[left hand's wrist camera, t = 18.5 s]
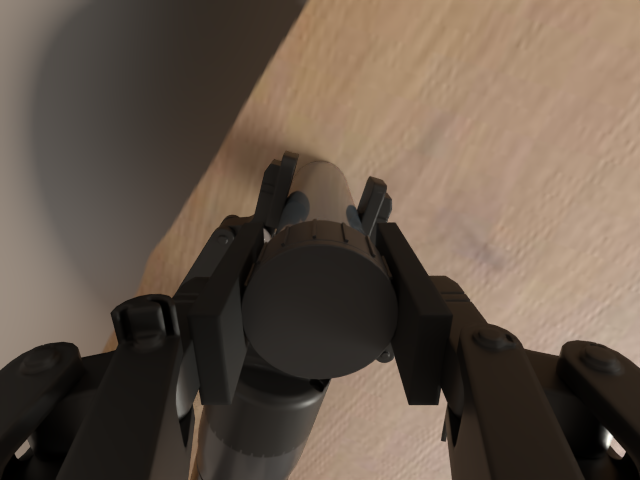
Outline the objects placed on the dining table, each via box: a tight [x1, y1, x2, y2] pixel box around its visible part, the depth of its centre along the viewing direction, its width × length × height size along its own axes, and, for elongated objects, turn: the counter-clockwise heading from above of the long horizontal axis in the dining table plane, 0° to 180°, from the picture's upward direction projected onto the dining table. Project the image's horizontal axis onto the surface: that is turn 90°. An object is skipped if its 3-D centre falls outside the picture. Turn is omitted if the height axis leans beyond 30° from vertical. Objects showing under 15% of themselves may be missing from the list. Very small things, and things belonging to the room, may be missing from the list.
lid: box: [241, 219, 399, 379], centre depth 11 cm, size 5×5×2 cm
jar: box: [274, 161, 365, 236], centre depth 18 cm, size 4×4×15 cm
